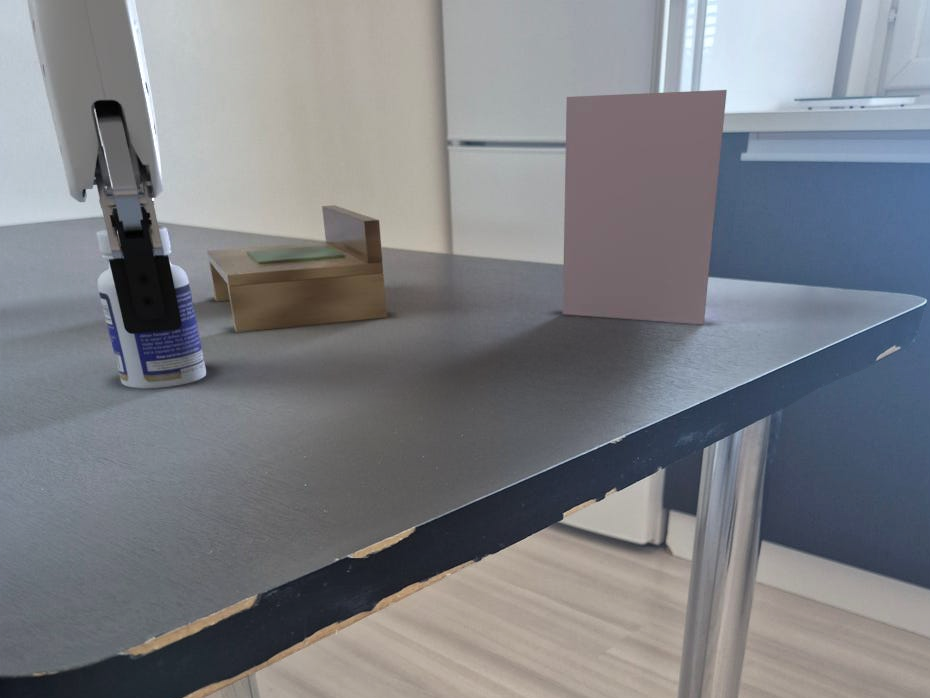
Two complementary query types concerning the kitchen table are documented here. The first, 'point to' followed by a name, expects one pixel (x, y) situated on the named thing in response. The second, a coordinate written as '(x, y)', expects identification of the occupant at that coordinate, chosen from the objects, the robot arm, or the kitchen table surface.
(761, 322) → the kitchen table surface
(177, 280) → the pill bottle
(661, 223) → the greeting card
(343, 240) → the shelf
